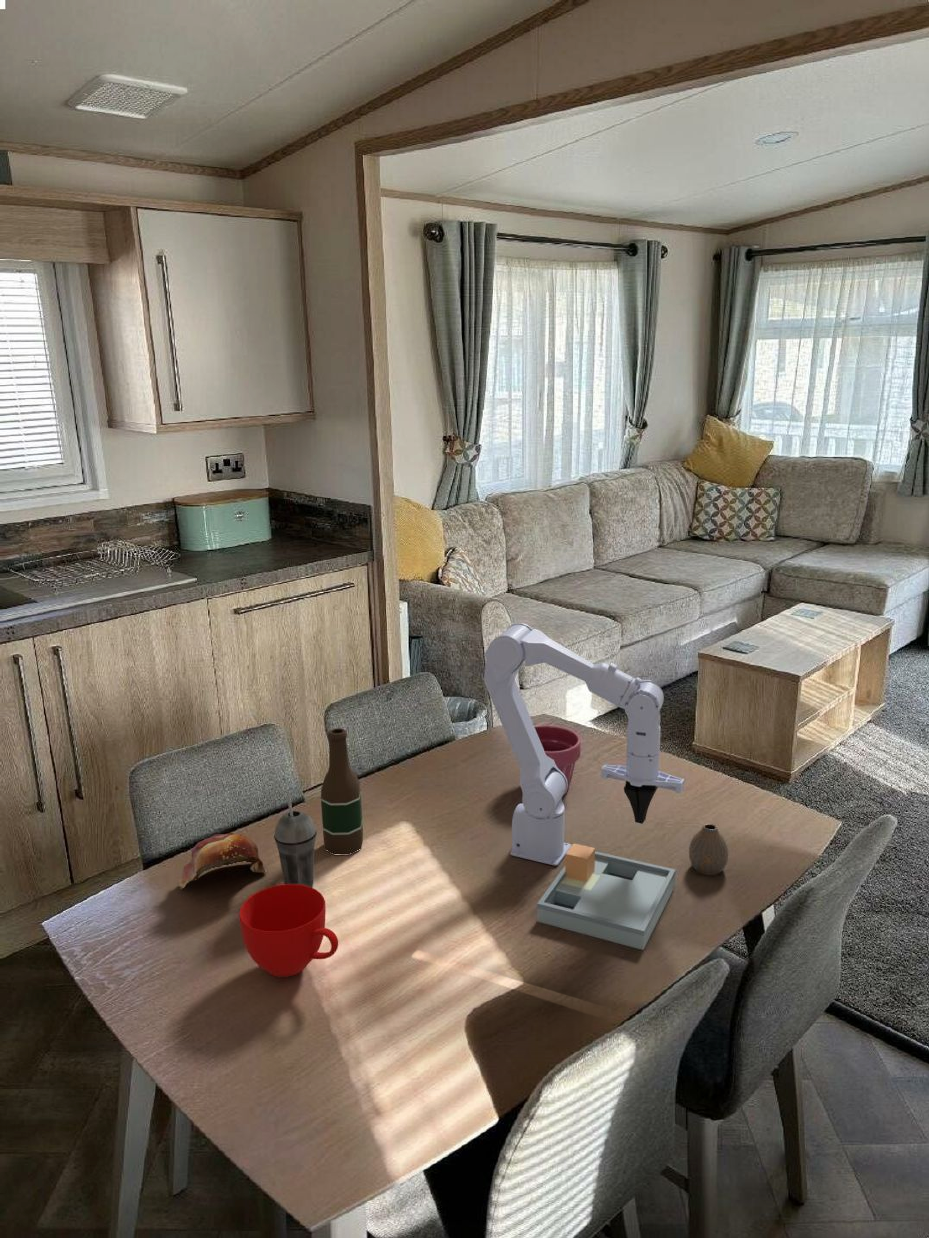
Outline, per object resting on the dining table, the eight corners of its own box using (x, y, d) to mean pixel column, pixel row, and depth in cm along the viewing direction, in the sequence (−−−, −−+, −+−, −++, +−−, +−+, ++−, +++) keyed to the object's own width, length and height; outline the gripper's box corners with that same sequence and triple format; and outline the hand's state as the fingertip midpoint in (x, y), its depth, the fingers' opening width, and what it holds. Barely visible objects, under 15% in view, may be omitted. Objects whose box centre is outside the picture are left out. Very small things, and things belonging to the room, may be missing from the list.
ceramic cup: (309, 1011, 130) (305, 951, 127) (226, 972, 139) (220, 915, 136) (365, 962, 140) (362, 905, 138) (284, 929, 149) (280, 875, 146)
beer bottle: (316, 852, 173) (308, 735, 166) (336, 833, 180) (329, 720, 173) (352, 859, 170) (345, 741, 164) (371, 840, 177) (365, 726, 171)
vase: (728, 882, 161) (731, 837, 158) (688, 878, 162) (691, 834, 160) (725, 862, 167) (728, 819, 165) (687, 858, 169) (689, 816, 166)
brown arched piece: (263, 857, 171) (259, 809, 169) (274, 892, 160) (270, 841, 157) (176, 874, 166) (170, 825, 163) (181, 911, 155) (175, 859, 152)
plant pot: (583, 807, 189) (584, 750, 185) (516, 808, 189) (515, 751, 186) (576, 777, 203) (577, 724, 199) (513, 778, 203) (513, 725, 199)
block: (565, 876, 159) (565, 853, 157) (573, 865, 162) (573, 843, 161) (586, 882, 157) (587, 858, 156) (594, 870, 160) (595, 848, 159)
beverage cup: (328, 887, 161) (322, 784, 156) (305, 908, 155) (297, 802, 149) (294, 878, 164) (287, 777, 159) (270, 899, 158) (261, 794, 152)
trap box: (537, 921, 150) (537, 903, 149) (578, 863, 167) (578, 847, 166) (643, 950, 142) (644, 931, 141) (674, 886, 159) (675, 869, 159)
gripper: (595, 751, 159) (594, 821, 162) (678, 766, 152) (674, 839, 156) (609, 737, 165) (607, 805, 168) (688, 751, 158) (684, 821, 162)
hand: (640, 820), depth 162 cm, fingers closed
